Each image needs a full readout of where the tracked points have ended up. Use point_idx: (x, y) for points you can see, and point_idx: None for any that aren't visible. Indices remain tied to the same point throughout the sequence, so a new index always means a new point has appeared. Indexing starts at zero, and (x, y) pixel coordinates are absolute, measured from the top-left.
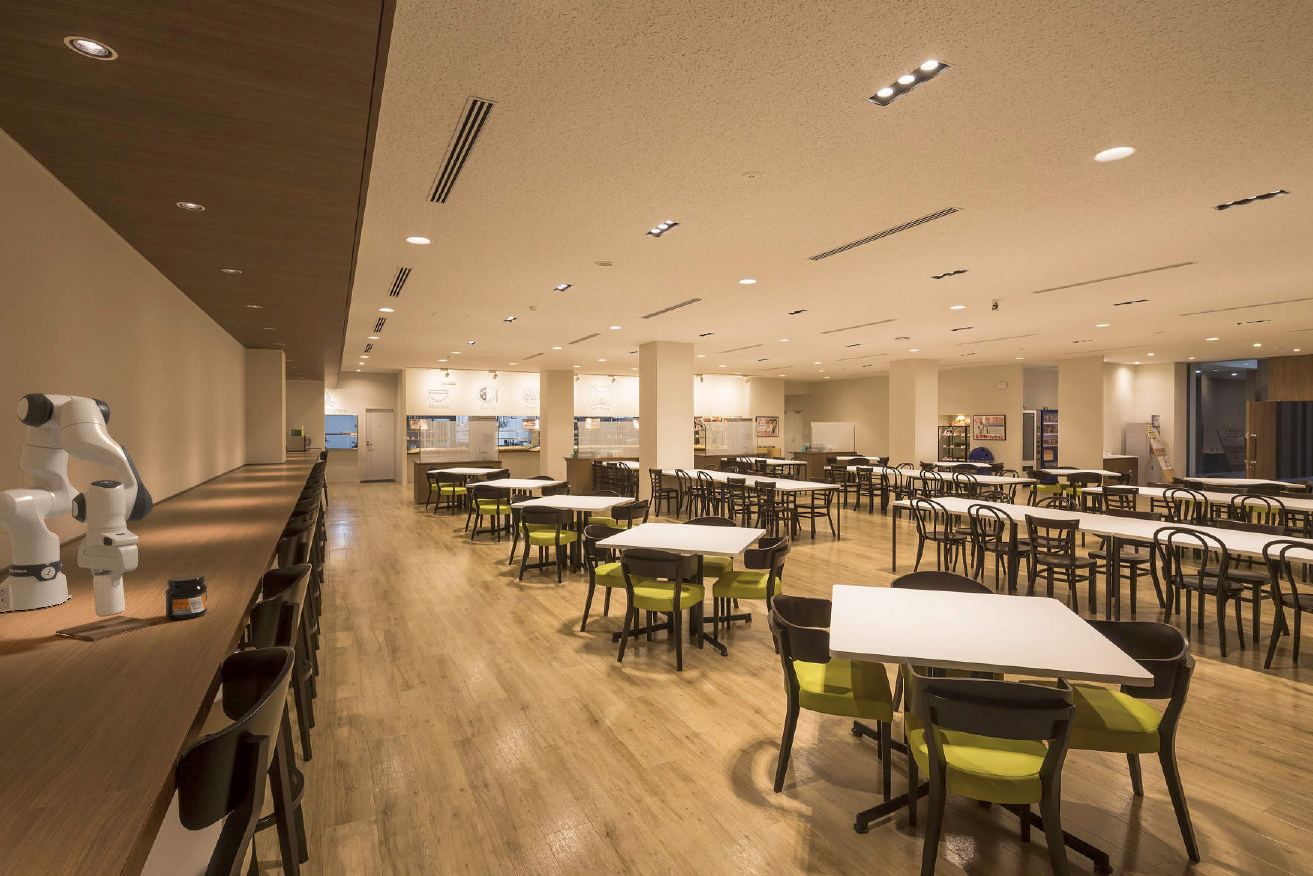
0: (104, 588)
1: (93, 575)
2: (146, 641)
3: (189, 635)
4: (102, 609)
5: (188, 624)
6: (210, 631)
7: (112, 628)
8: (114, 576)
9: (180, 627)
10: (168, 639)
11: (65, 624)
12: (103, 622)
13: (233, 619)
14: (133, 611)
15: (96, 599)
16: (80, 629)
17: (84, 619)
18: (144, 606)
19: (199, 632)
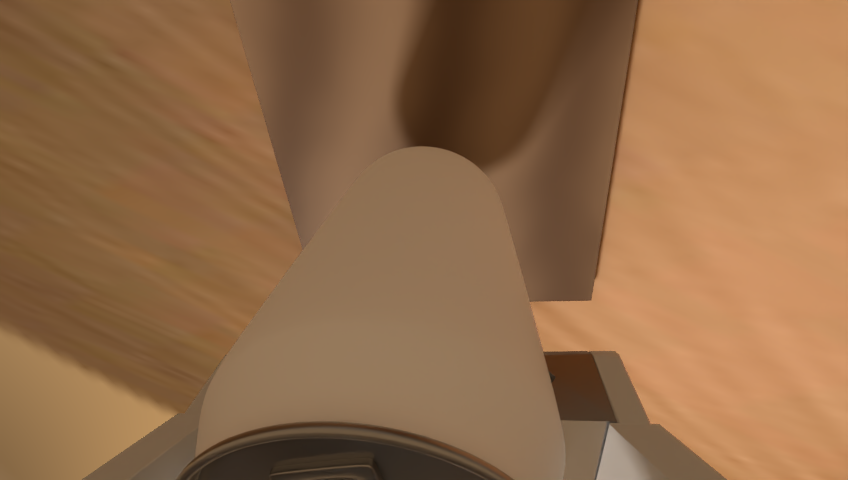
0: (278, 283)
1: (679, 468)
2: (34, 130)
3: (23, 252)
4: (366, 171)
5: (211, 331)
6: (36, 306)
7: (355, 158)
8: (91, 475)
9: (186, 301)
10: (8, 188)
11: (816, 126)
12: (537, 203)
13: (159, 404)
14: (647, 370)
15: (400, 187)
16: (512, 63)
17: (785, 225)
18: (675, 419)
19: (47, 287)
